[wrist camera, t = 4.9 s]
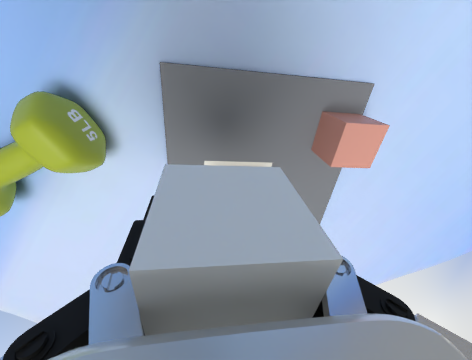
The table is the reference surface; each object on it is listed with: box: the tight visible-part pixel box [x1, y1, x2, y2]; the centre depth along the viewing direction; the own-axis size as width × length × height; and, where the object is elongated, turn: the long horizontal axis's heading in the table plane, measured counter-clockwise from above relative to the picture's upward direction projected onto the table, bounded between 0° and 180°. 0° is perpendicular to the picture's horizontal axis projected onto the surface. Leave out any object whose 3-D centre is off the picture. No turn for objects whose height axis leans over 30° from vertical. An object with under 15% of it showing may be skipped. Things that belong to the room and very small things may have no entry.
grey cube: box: [129, 164, 343, 336], centre depth 10 cm, size 6×6×6 cm
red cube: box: [311, 111, 390, 168], centre depth 25 cm, size 5×5×5 cm
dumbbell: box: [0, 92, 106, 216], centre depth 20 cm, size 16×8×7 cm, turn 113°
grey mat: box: [160, 62, 374, 224], centre depth 28 cm, size 22×24×1 cm
